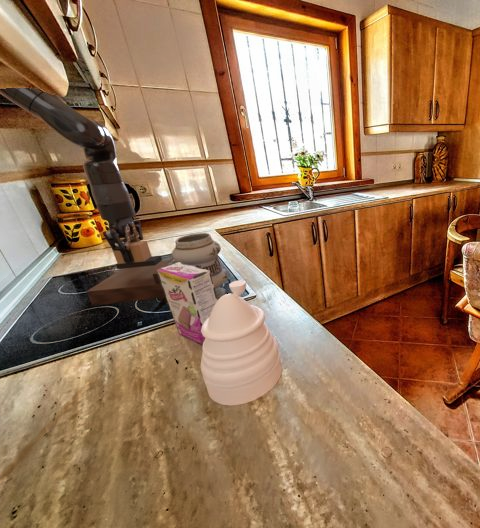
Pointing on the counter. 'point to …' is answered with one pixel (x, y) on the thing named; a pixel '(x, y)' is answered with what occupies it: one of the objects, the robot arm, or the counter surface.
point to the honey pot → (238, 351)
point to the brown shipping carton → (137, 256)
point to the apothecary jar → (202, 257)
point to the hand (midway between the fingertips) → (134, 259)
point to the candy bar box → (188, 297)
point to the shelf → (130, 285)
